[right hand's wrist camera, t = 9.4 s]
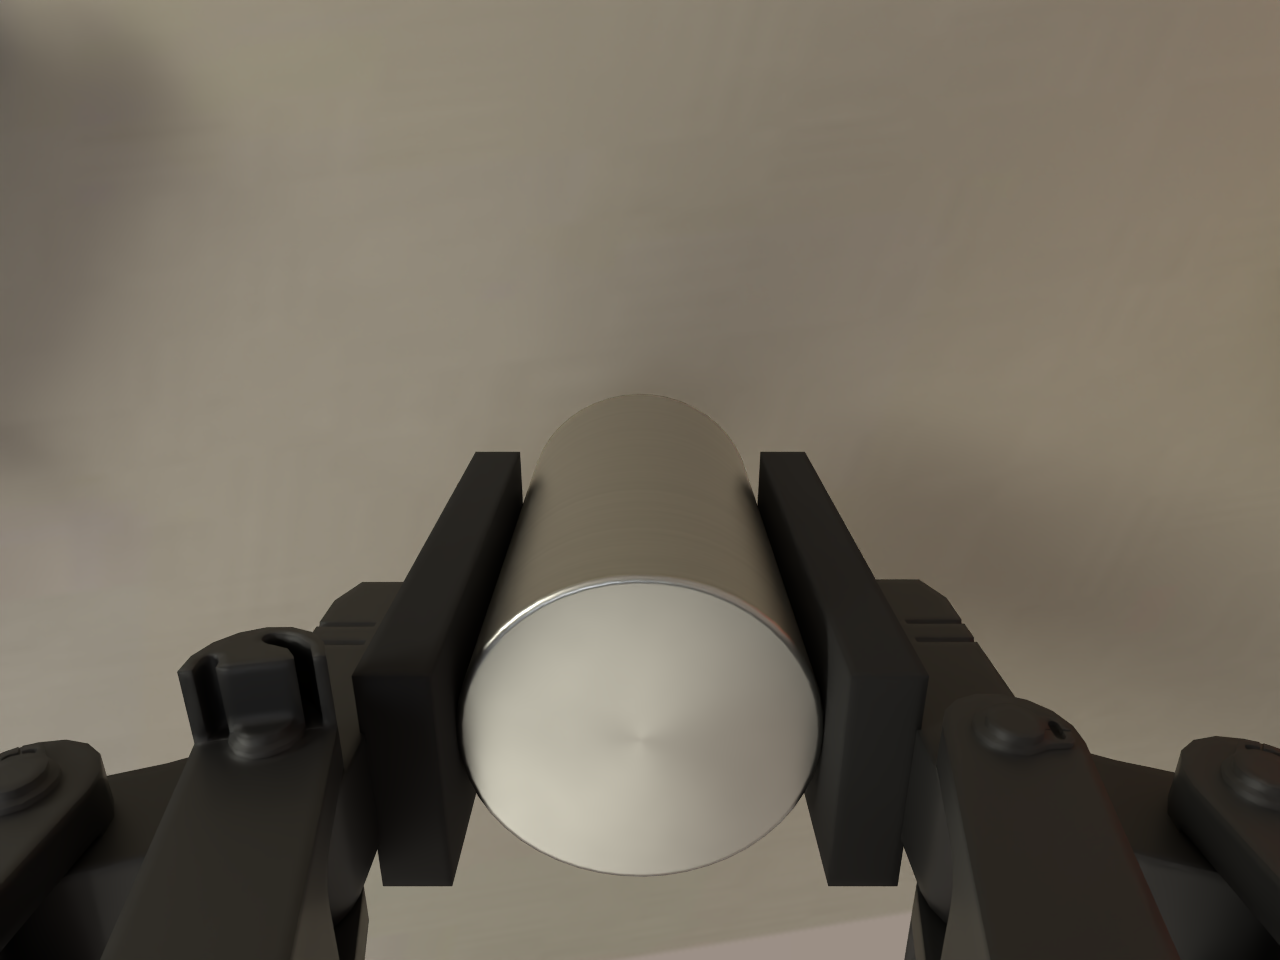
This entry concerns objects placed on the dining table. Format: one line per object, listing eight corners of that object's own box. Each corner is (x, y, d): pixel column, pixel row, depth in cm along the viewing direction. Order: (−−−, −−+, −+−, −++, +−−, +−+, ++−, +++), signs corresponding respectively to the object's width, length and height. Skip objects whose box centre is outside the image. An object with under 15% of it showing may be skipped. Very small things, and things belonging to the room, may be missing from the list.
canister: (714, 611, 17) (763, 906, 10) (514, 568, 16) (428, 845, 10) (775, 421, 15) (877, 622, 9) (556, 369, 15) (489, 538, 8)
